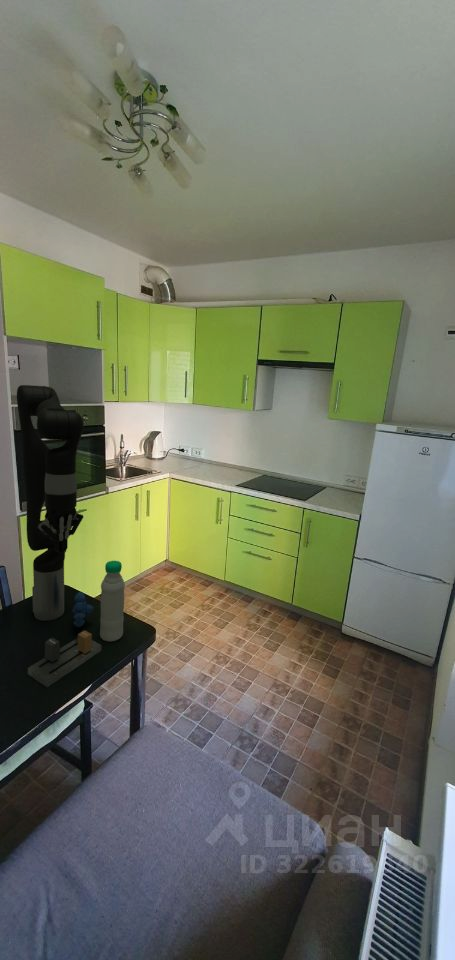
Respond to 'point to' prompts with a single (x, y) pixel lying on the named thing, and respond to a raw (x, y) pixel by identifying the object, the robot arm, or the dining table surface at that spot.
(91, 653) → the console
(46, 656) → the fader
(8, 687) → the dining table surface
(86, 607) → the grapes
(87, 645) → the fader
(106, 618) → the water bottle
